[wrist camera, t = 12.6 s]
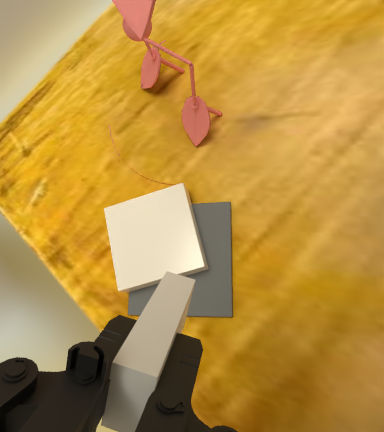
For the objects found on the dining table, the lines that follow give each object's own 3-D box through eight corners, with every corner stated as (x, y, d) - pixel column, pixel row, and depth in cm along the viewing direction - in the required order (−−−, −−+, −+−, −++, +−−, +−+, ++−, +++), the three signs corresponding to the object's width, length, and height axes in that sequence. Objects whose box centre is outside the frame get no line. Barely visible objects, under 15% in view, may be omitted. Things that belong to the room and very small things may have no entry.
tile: (118, 291, 38) (104, 208, 41) (127, 292, 40) (113, 214, 43) (204, 266, 36) (182, 182, 39) (208, 269, 39) (188, 190, 42)
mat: (230, 203, 41) (230, 201, 40) (232, 316, 37) (231, 316, 37) (136, 208, 43) (134, 207, 43) (129, 314, 40) (127, 314, 39)
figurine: (156, 31, 50) (-74, -483, 18) (266, 154, 41) (215, -425, 9) (75, 96, 51) (-294, -284, 18) (165, 229, 42) (-235, -41, 9)
